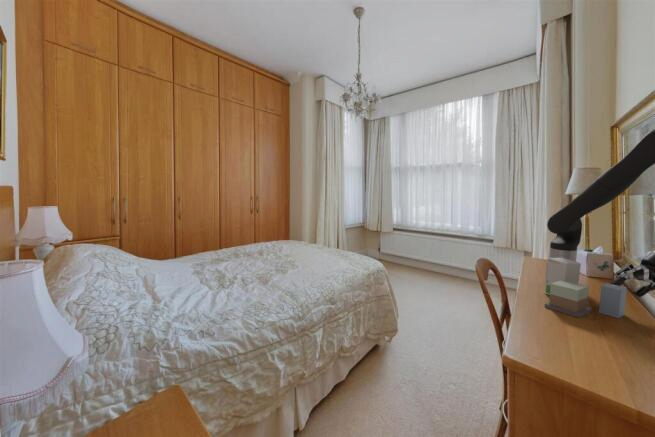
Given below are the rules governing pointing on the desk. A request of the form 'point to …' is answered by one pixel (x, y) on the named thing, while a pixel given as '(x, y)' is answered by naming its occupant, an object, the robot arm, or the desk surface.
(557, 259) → the skincare box
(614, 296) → the slate column brick
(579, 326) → the desk surface
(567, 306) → the tower base
